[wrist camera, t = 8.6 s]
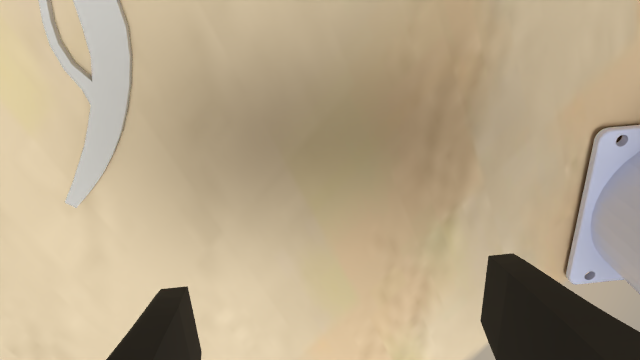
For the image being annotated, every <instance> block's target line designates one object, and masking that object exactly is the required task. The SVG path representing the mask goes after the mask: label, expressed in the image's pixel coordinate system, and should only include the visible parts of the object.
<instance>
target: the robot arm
mask: <svg viewBox="0 0 640 360" xmlns="http://www.w3.org/2000/svg"><path fill="white" fill-rule="evenodd" d="M621 135H622V138H621V140H620V141H619V142H617V143H616V140H617V138H618V137H619V136H621ZM587 272H589V273H588V274H586V273H587ZM585 274H586V275H585ZM566 277H567V279H568V280H569V281H570V282H571V283H572V284H586V283H596V282H604V281H614V280H624V279H625V280H626V281H627V282H628V283H629V284H630V285H631V286H632V287H633V288H634V289H635V290H636V291H637V292H638V293H639V294H640V125H632V126H621V127H609V128H605V129H602V130H601V131H599V132H598V134H597V135H596V137H595V139H594V143H593V148H592V153H591V157H590V162H589V167H588V171H587V176H586V181H585V186H584V190H583V195H582V200H581V205H580V209H579V214H578V219H577V224H576V228H575V233H574V238H573V242H572V247H571V252H570V257H569V261H568V266H567V271H566ZM481 323H482V326H483V329H484V331H485V334H486V336H487V339H488V342H489V344H490V347H491V349H492V351H493V353H494V356H495V359H496V360H640V332H638V331H637V330H635V329H633V328H632V327H630V326H628V325H626V324H625V323H623V322H621V321H619V320H617V319H616V318H614V317H612V316H611V315H609V314H607V313H606V312H604V311H602V310H601V309H599V308H597V307H596V306H594V305H593V304H591V303H589V302H587V301H586V300H585V299H583V298H581V297H580V296H578V295H577V294H575V293H574V292H572V291H570V290H569V289H567V288H566V287H564V286H563V285H561V284H560V283H558V282H557V281H555V280H554V279H552V278H551V277H549V276H548V275H546V274H545V273H543V272H542V271H540V270H539V269H537V268H536V267H534V266H533V265H531V264H529V263H528V262H526V261H525V260H523V259H522V258H520V257H518V256H517V255H515V254H503V255H494V256H489V257H488V265H487V273H486V282H485V290H484V298H483V306H482V314H481ZM106 360H201V347H200V343H199V338H198V333H197V329H196V324H195V319H194V315H193V310H192V305H191V301H190V296H189V291H188V287H178V288H168V289H161V290H160V291H159V292H158V293H157V294H156V296H155V297H154V298H153V300H152V301H151V302H150V304H149V305H148V307H147V308H146V309H145V311H144V312H143V313H142V315H141V316H140V317H139V319H138V320H137V321H136V323H135V324H134V325H133V327H132V328H131V329H130V331H129V332H128V333H127V334H126V336H125V337H124V338H123V339H122V341H121V342H120V343H119V344H118V346H117V347H116V348H115V350H114V351H113V352H112V353H111V355H110V356H109V357H108V358H107V359H106Z"/></svg>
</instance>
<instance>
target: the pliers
mask: <svg viewBox="0 0 640 360" xmlns="http://www.w3.org/2000/svg"><path fill="white" fill-rule="evenodd" d="M38 1H39V6H40V11H41V17H42V22H43V25H44V28H45V32H46V35H47V38H48V41H49V44H50V47H51V48H52V50H53V52H54V54H55V55H56V57H57V59H58V60H59V62H60V64H61V65H62V67H63V69H64V70H65V71H66V72H67V74H68V75H69V76H70V77H71V78H72V79H73V80H74V82H75V83H76V84H77V85H78V86H79V87H80V88H81V89H82V91H83V92H84V94H85V96H86V98H87V99H88V101H89V103H90V105H91V107H90V114H89V121H88V128H87V133H86V139H85V144H84V148H83V151H82V155H81V158H80V161H79V164H78V168H77V171H76V174H75V177H74V180H73V183H72V186H71V188H70V191H69V193H68V196H67V198H66V201H65V203H67V204H69V205H71V206H73V207H75V208H77V206H78V205H79V204H80V203H81V202H82V201H83V199H84V198H85V197H86V196H87V195H88V193H89V192H90V191H91V190H92V188H93V187H94V186H95V184H96V183H97V181H98V180H99V179H100V177H101V176H102V174H103V173H104V171H105V170H106V168H107V166H108V164H109V162H110V160H111V158H112V156H113V154H114V152H115V150H116V147H117V144H118V142H119V139H120V137H121V134H122V131H123V128H124V124H125V119H126V115H127V110H128V105H129V98H130V90H131V83H132V51H131V43H130V34H129V26H128V23H127V20H126V17H125V14H124V11H123V8H122V6H121V3H120V0H73V2H74V5H75V8H76V11H77V14H78V17H79V20H80V22H81V25H82V28H83V32H84V35H85V39H86V42H87V46H88V49H89V53H90V56H91V68H92V76H91V75H90V74H88V73H87V72H86V71H85V70H84V69H83V68H81V67H80V66H79V65H78V64H77V63H75V61H74V60H73V58H72V57H71V55H70V53H69V52H68V50H67V49H66V47H65V46H64V44H63V43H62V40H61V37H60V34H59V31H58V28H57V25H56V22H55V19H54V14H53V9H52V4H51V0H38Z"/></svg>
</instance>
